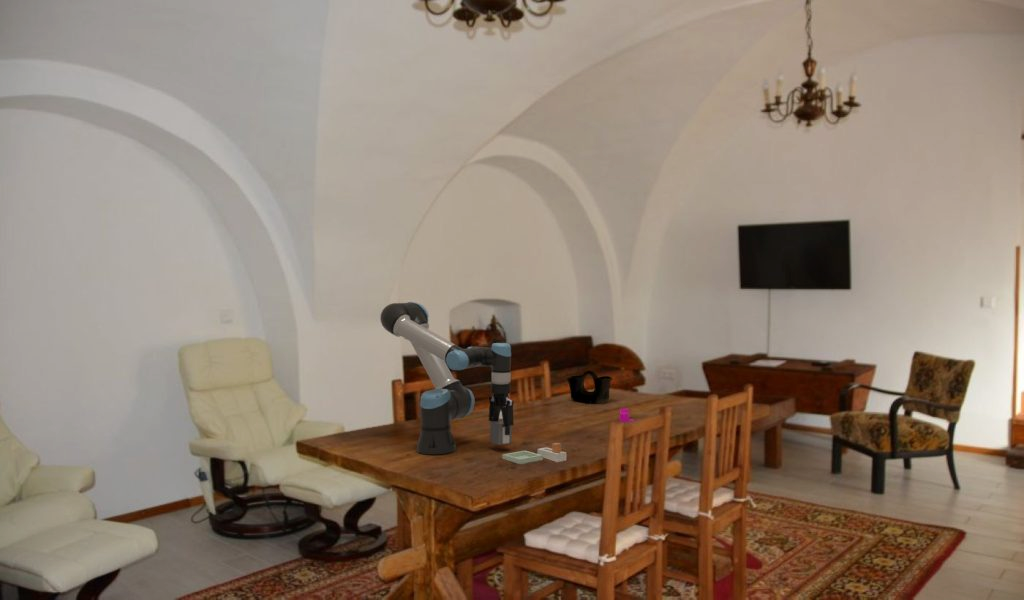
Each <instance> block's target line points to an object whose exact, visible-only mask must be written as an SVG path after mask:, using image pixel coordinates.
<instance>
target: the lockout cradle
mask: <svg viewBox="0 0 1024 600" xmlns="http://www.w3.org/2000/svg"><path fill="white" fill-rule="evenodd" d="M501 459H503V460H505V461H509V462H511V463H512V464H513V463H514V464H515V465H520V466H521V465H524V464H525V465H526V464H531V463H535V462H541V461H543V460H544V458H543V455H540V454H538V453H535V452H532V451H528V450H520V451H515V452H509V453H503V454H502V455H501Z"/></svg>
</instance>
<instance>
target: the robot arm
mask: <svg viewBox="0 0 1024 600" xmlns="http://www.w3.org/2000/svg"><path fill="white" fill-rule="evenodd" d="M427 310H428V309H426V307H425V306H424V305H423V304H421V303H418V302H412V301H409V302H397V303H395V302H394V303H393V302H392V303H390V304H387V305H386V306H384V308H383V309H382V311H381V313H380V323H381V326H382V327H383V328H384V330H385V331H387V332H388V333H390V334H392V335H394V336H395V337H399V338H400V337H402V338H403V339H405V340H407V341H409V342H410V344H411V346H412V347H413V349H414V351H415V353H416V355H417V357H418V358H419V360H420V362H421V364H422V366H423V368H424V370H425V371H426V373H427V375H428V377H429V379H430V381H431V382H432V385H433V387H434V388H435V389H429V390H426V391H424V392H422V393H421V395H420V403H419V405H420V434H419V438H418V441H417V444H416V452H417V453H418V454H421V455H422V454H423V455H444V454H445V455H446V454H450V453H453V452H455V451H456V449H457V447H456V441H455V439H454V436H453V433H452V421H453V420H457V419H462V418H463V419H464V417H466V416H468V415H470V414H471V413H472V411H473V410H474V409H475V408H474V406H475V404H476V402H475V396H474V393H473V392H472V390H470V389H469V388H466V387H464V386H463V384H462V382H461V381H460V380H459V379H455V378H454V376H453V373H452V372H451V371H450V370H452V371H462V370H466V369H467V370H468V369H471V368H476V367H489V368H491V380H490V381H491V393H493V395H491V396H490V395H489V396H488V399H489V407H488V411H489V413H488V421H489V422H492V421H500V419H499V415H500V410H501V411H502V417H503V419H502V420H503V423H504V426H503V438H502V443H503V444H502V445H506V444H505V443H508V444H510V443H509V434H510V426H514V402H515V401H514V400H513V399H510V397H509V394H510V393H511V392H512V391H511V390H512V388H511V387H512V385H511V380H512V379H511V378H512V376H511V374H512V372H511V371H512V370H511V366H512V365H511V364H512V363H511V362H512V346H511V344H510V343H508V342H496V343H495V342H494V343H492V344H491V347H485V346H484V347H481V346H477V345H475V346H468V347H467V348H463V347H460V346H458V345H456V344H455V343H453V342H451V341H450V340H448V339H446V338H445V337H442V336H440V335H439V334H437V333H435V332H433V331H431V330H430V329H429V328H430V324H429V312H428V311H427ZM505 406H506V407H505ZM510 422H511V423H510Z"/></svg>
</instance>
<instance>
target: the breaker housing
mask: <svg viewBox="0 0 1024 600" xmlns="http://www.w3.org/2000/svg"><path fill="white" fill-rule="evenodd" d="M536 452H537V454H540V455H543V459H547V460H549V461H553V462H556V463H561V462H564V461H567V452H566V451H562V450H561V452H558V453H555V452H552V447H551V448H550V447H541V448H540V447H539V448H537V451H536Z"/></svg>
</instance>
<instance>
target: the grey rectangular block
mask: <svg viewBox="0 0 1024 600" xmlns="http://www.w3.org/2000/svg"><path fill="white" fill-rule="evenodd" d="M489 422H490V426H489V433H490V434H489V441H490V443H492V444H495V445H500V446H501V445H507V444H512V441H513V440H512V437H513V436H512V435H513V434H512V432H513V431H512V428H513V427H512V426H513V425H512V426H510V434H509V443H505V444H503V443H502V438H503V426H504V423H503V419H499V420H498V421H492V422H491V421H489ZM510 423H511V422H510Z"/></svg>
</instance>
